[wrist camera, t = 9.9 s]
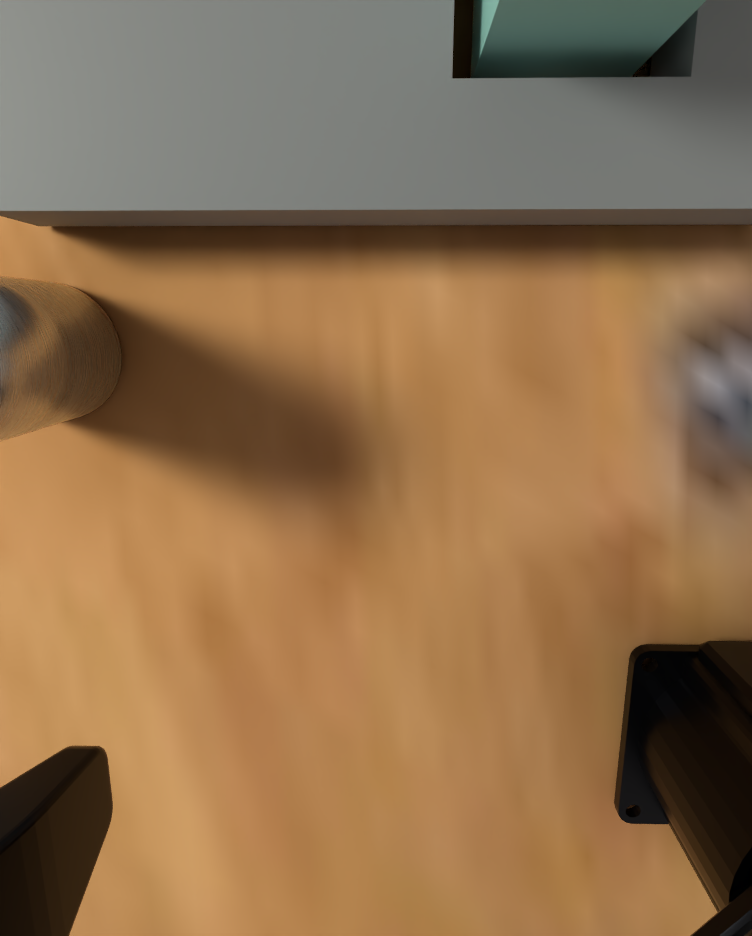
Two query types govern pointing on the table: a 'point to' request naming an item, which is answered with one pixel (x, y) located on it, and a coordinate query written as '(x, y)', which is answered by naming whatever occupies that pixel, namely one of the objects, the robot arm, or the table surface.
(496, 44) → the square peg
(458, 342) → the table surface
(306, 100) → the plate
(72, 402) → the round peg
